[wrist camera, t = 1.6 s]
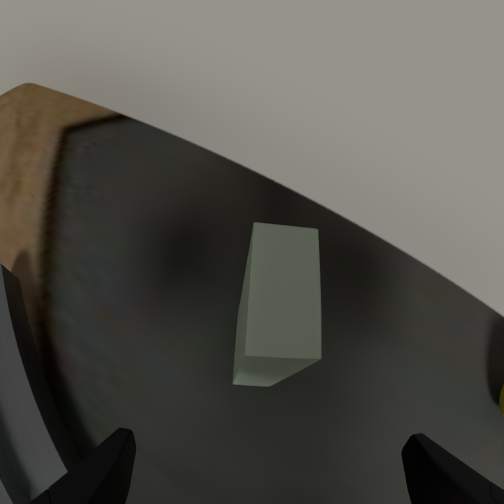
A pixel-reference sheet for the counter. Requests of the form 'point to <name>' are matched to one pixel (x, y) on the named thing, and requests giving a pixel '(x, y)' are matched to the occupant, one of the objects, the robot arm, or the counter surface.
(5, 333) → the track
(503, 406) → the lemon
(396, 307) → the counter surface
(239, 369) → the door panel
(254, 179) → the counter surface
